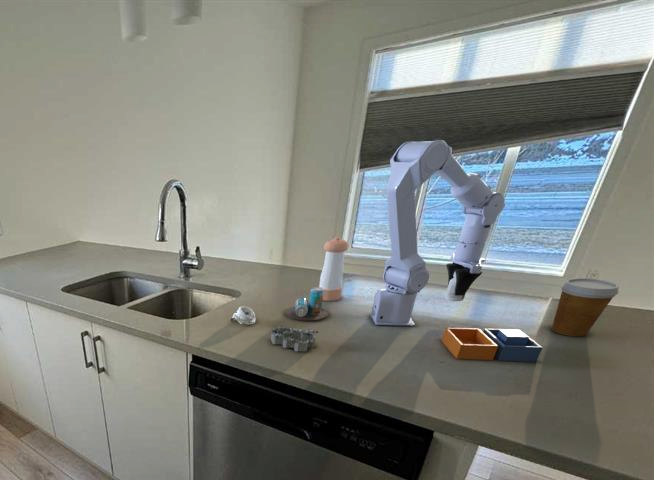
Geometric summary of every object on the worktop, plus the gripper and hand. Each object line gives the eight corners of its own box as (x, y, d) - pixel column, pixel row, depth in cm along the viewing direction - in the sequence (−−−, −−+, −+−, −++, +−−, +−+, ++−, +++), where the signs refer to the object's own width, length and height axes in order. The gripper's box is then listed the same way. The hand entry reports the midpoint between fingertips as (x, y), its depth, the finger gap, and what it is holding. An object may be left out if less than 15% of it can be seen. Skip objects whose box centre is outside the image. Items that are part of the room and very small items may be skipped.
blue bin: (498, 360, 90) (503, 346, 88) (479, 341, 98) (484, 328, 97) (536, 361, 88) (542, 347, 86) (513, 342, 96) (519, 329, 95)
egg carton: (318, 345, 104) (320, 331, 102) (300, 354, 100) (302, 339, 98) (284, 334, 112) (285, 320, 110) (266, 342, 108) (267, 327, 106)
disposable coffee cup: (586, 325, 101) (610, 278, 95) (603, 341, 94) (630, 290, 88) (537, 322, 105) (557, 276, 99) (550, 337, 97) (572, 288, 91)
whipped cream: (242, 318, 126) (242, 302, 125) (261, 320, 122) (261, 304, 120) (227, 324, 122) (227, 308, 120) (246, 327, 117) (246, 310, 115)
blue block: (501, 352, 92) (507, 336, 90) (493, 345, 95) (499, 329, 93) (522, 353, 91) (529, 337, 89) (513, 345, 94) (520, 330, 92)
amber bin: (456, 358, 92) (461, 344, 91) (441, 340, 100) (445, 327, 99) (492, 360, 90) (498, 346, 89) (474, 341, 99) (479, 328, 97)
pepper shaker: (344, 300, 130) (354, 238, 121) (321, 301, 131) (330, 240, 121) (335, 293, 137) (344, 234, 127) (313, 294, 137) (321, 236, 127)
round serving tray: (328, 322, 116) (332, 295, 112) (284, 320, 120) (287, 294, 116) (326, 308, 126) (330, 282, 122) (286, 306, 129) (288, 282, 125)
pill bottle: (466, 301, 111) (475, 273, 108) (448, 301, 112) (457, 274, 108) (458, 296, 115) (467, 269, 111) (441, 296, 116) (449, 270, 112)
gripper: (503, 247, 99) (484, 301, 106) (478, 236, 111) (462, 284, 118) (469, 248, 101) (452, 300, 107) (448, 236, 113) (434, 284, 119)
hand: (455, 292), depth 113 cm, fingers closed on pill bottle, 4 cm apart
